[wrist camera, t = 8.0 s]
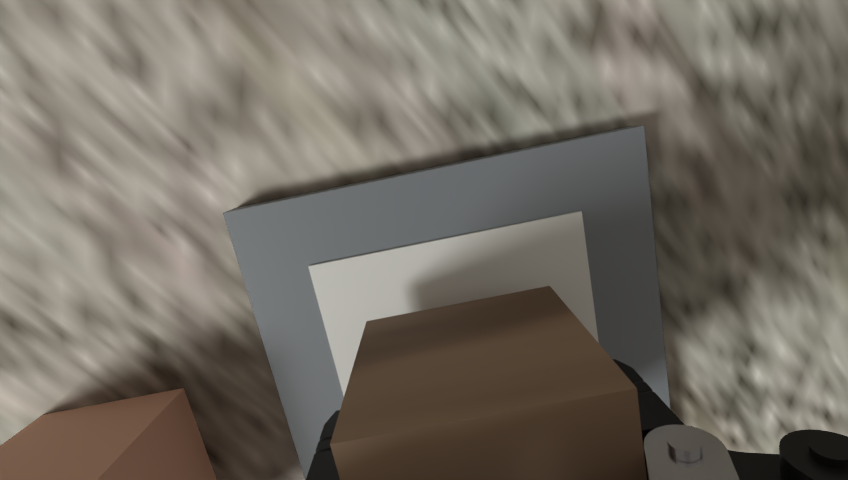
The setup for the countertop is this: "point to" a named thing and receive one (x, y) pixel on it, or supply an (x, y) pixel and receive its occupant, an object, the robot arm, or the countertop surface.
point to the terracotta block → (111, 443)
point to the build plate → (452, 259)
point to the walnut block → (487, 397)
